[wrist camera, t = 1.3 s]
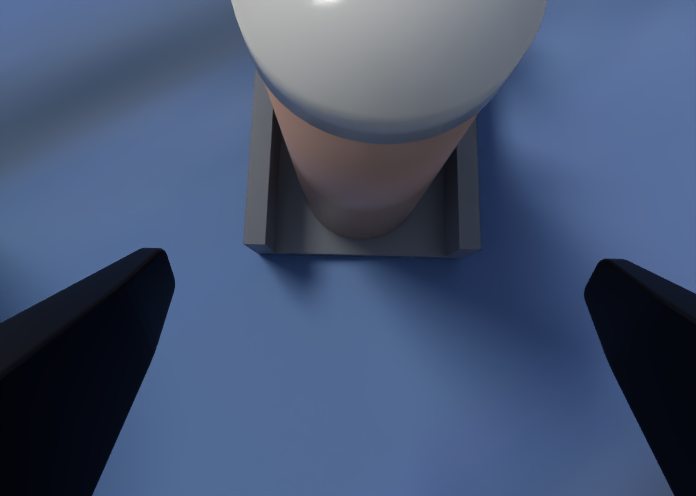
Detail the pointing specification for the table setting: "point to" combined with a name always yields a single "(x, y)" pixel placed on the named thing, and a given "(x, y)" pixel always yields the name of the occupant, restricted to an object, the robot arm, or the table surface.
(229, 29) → the table surface
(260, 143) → the lane
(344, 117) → the jar
